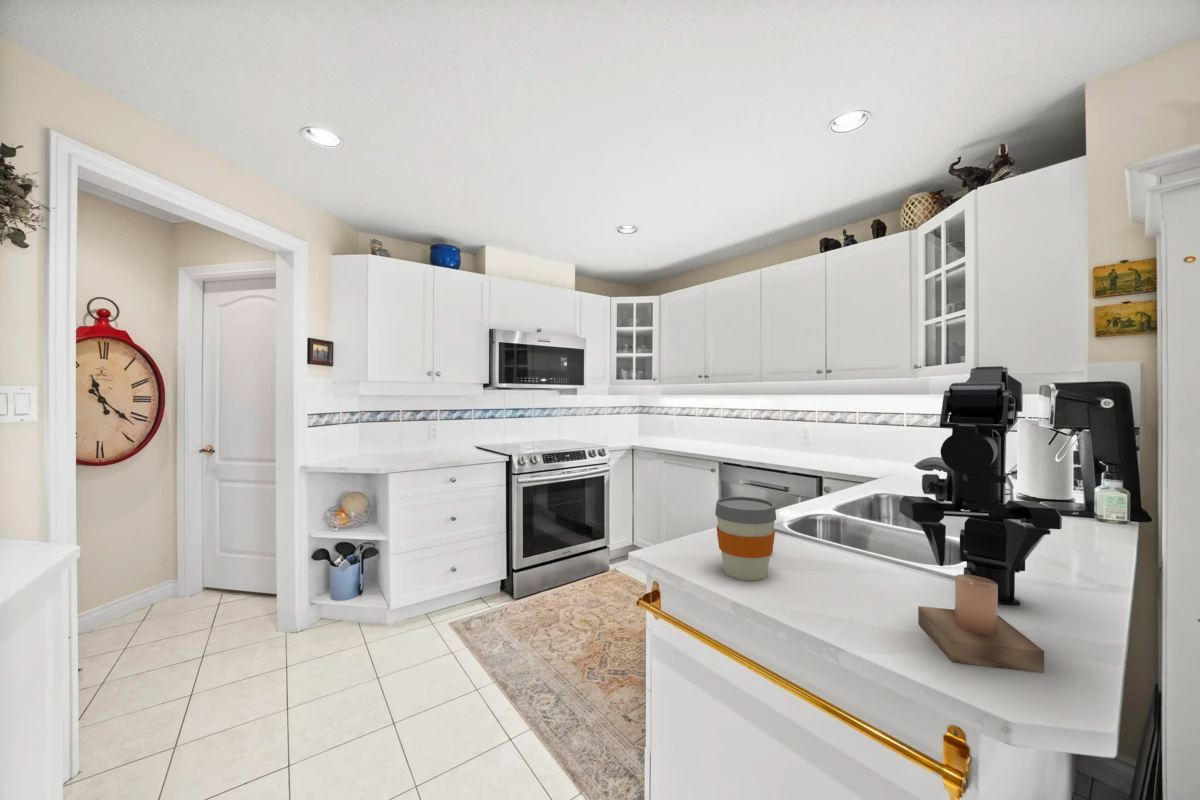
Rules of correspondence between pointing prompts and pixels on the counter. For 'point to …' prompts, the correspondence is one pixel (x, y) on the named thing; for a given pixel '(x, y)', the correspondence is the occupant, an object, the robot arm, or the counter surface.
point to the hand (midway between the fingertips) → (974, 567)
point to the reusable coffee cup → (745, 536)
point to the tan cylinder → (976, 604)
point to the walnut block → (980, 642)
